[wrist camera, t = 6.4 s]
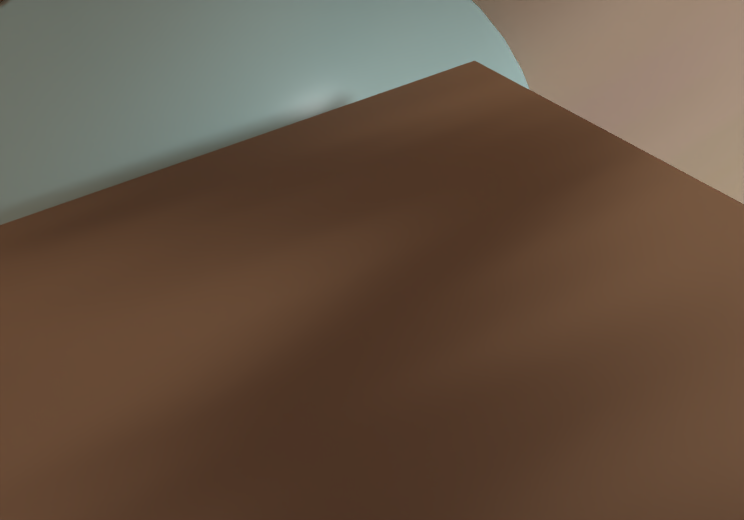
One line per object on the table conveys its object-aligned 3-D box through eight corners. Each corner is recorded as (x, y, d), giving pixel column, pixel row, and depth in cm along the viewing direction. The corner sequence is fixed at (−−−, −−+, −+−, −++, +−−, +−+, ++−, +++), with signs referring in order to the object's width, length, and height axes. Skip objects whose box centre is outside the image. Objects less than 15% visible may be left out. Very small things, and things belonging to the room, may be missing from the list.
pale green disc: (521, -171, 9) (539, -170, 9) (536, 359, 15) (548, 370, 15) (-353, 58, 7) (-370, 69, 6) (82, 576, 13) (83, 595, 12)
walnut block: (474, 60, 8) (1047, 364, 4) (500, 389, 12) (805, 750, 7) (-36, 238, 7) (-140, 1077, 2) (168, 549, 10) (286, 1120, 6)
